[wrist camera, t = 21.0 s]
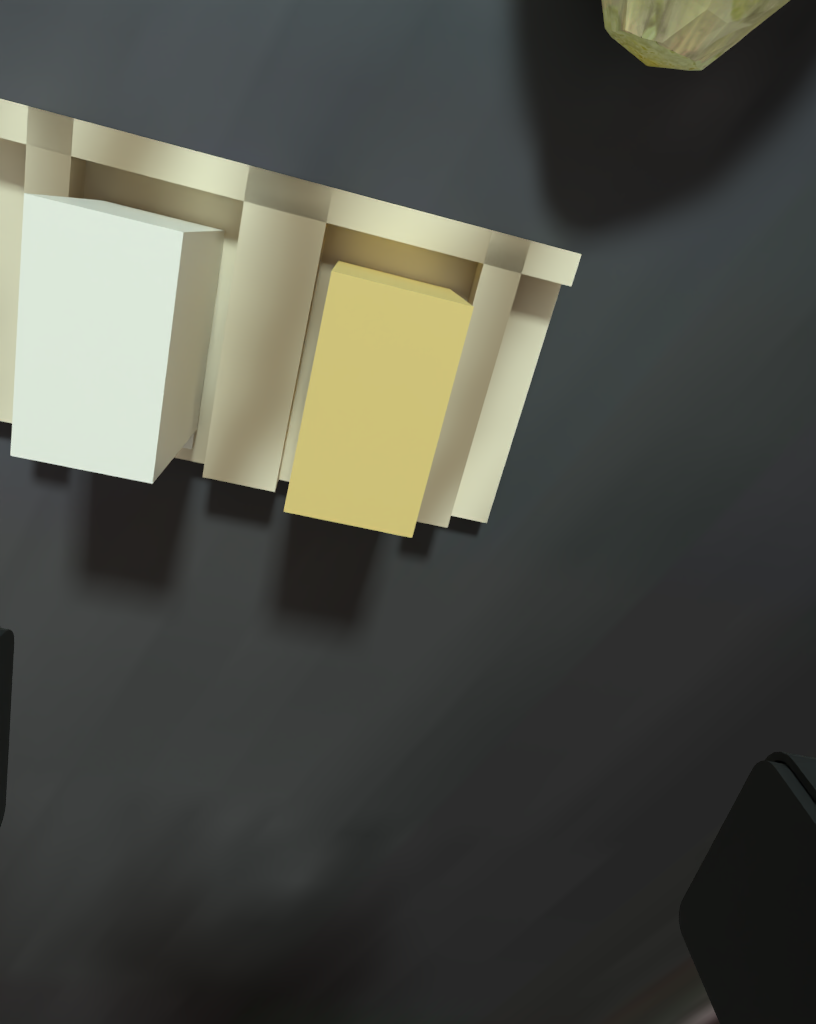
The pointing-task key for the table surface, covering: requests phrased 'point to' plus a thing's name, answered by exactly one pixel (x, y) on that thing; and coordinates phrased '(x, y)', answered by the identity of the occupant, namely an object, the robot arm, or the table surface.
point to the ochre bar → (376, 399)
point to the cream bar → (110, 335)
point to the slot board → (296, 295)
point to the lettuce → (683, 28)
